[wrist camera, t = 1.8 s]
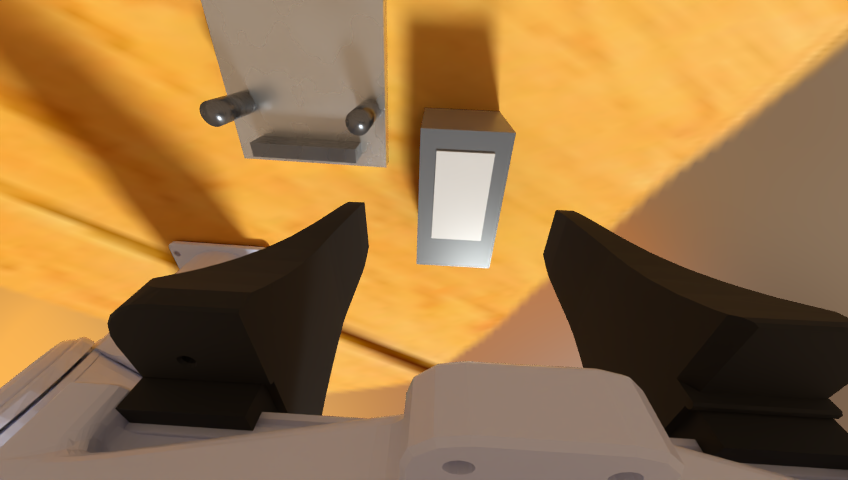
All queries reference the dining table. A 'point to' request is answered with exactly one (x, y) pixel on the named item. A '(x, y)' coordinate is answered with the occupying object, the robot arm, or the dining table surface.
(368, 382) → the dining table surface
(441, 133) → the block
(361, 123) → the pin tray
